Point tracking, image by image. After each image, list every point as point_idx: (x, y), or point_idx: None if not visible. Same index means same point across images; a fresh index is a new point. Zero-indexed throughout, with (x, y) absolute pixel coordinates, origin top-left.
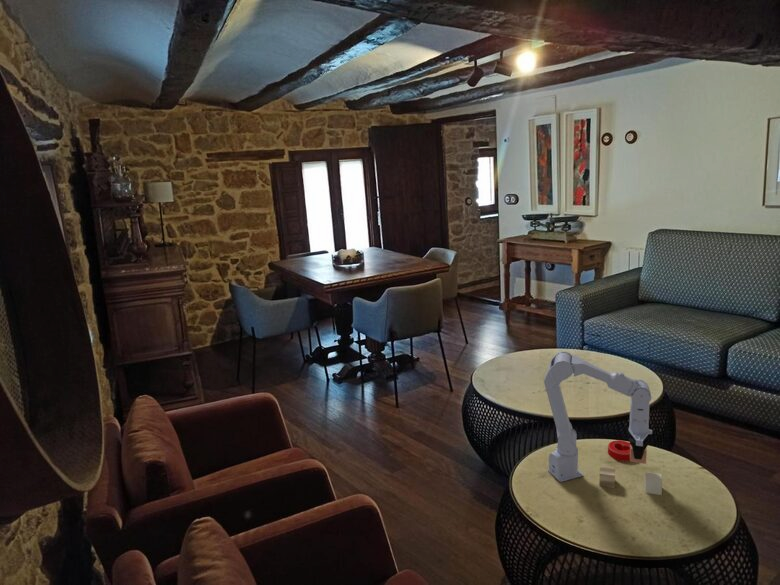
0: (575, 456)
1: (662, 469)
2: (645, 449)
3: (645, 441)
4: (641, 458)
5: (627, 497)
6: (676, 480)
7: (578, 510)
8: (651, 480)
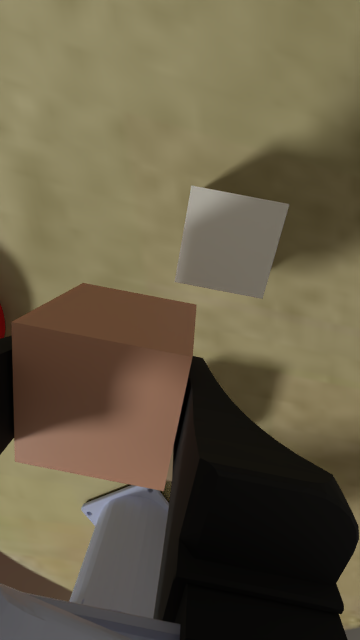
0: (147, 611)
1: (31, 140)
2: (160, 362)
3: (226, 519)
4: (205, 363)
5: (286, 360)
6: (127, 82)
7: (357, 520)
8: (268, 267)
